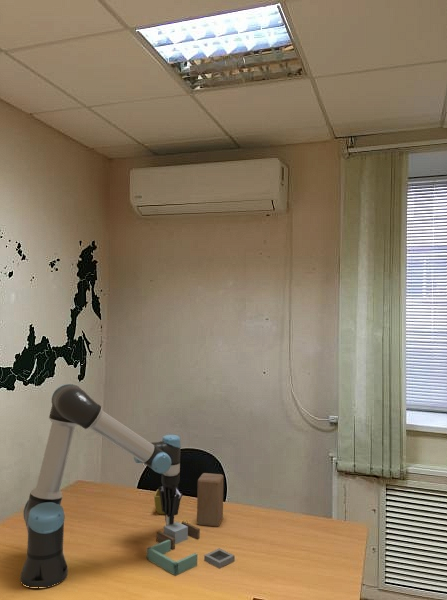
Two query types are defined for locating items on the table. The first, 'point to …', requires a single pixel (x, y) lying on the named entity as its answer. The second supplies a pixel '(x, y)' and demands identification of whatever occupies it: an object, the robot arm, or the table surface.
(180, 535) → the block
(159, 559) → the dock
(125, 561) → the table surface
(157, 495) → the flower pot
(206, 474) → the wooden block
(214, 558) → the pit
